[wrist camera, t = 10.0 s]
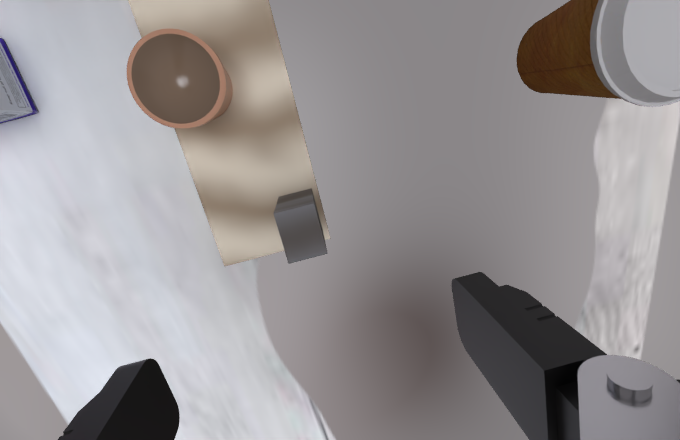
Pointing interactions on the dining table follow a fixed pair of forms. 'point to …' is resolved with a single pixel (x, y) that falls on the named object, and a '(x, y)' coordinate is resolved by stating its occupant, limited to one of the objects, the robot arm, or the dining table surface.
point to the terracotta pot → (178, 79)
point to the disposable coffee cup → (606, 51)
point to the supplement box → (12, 89)
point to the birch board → (247, 135)
